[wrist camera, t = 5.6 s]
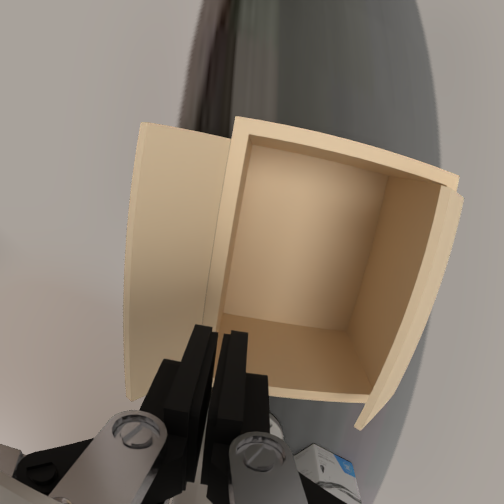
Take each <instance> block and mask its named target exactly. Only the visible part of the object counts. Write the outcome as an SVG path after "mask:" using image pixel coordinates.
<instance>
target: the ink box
mask: <svg viewBox="0 0 504 504" xmlns="http://www.w3.org/2000/svg"><path fill="white" fill-rule="evenodd" d="M293 457H294V460H295V463H296V467H297V470H298V471H299V472H300V473H301V474H303V475H304V476H306V477H307V478H309V479H310V480H311V481H313V482H314V483H316V484H317V485H319V486H320V487H322V488H323V489H325V490H326V491H328V492H329V493H331V494H333V495H334V496H336V497H337V498H339V499H340V500H342V501H344V502H345V503H347V504H362V502H361V498H360V494H359V490H358V486H357V481H356V477H355V473H354V469H353V466H352V463H351V462H349V461H346V460H344V459H342V458H340V457H339V456H337V455H335V454H333V453H331V452H329V451H327V450H325V449H323V448H321V447H319V446H317V445H316V444H312V445H311V446H309V447H308V448H306V449H304V450H303V451H301V452H300V453H298V454H296V455H295V456H293Z"/></svg>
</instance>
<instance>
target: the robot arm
mask: <svg viewBox="0 0 504 504" xmlns="http://www.w3.org/2000/svg"><path fill="white" fill-rule="evenodd" d="M212 329H213V327H210V326H204V325H198V324H195V326H194V329H193V331H192V334H191V336H190V339H189V341H188V344H187V347H186V349H185V352H184V354H183V357H182V360H181V362H180V361H175V360H170V359H163V361H162V362H161V365H160V367H159V369H158V371H157V373H156V375H155V377H154V380H153V382H152V384H151V386H150V388H149V390H148V392H147V395H146V397H145V399H144V401H143V403H142V406H141V408H140V410H139V411H137V410H129V411H124V412H121V413H118V414H116V415H114V416H113V417H112V418H111V419H110V420H109V421H108V422H107V423H106V425H105V426H104V427H103V428H102V430H101V431H100V432H99V433H98V435H97V436H96V437H95V438H92V439H89V440H85V441H82V442H77V443H73V444H69V445H65V446H61V447H57V448H52V449H47V450H43V451H38V452H34V453H31V454H28V455H24V454H22V452H21V450H18V449H15V448H11V447H9V446H6V445H2V444H0V504H169V500H170V498H172V497H173V500H172V504H347V503H345V502H344V501H342V500H340V499H339V498H337V497H336V496H334V495H333V494H331V493H329V492H328V491H326V490H325V489H323V488H322V487H320V486H319V485H317V484H316V483H314V482H313V481H311V480H310V479H309V478H307V477H306V476H304V475H303V474H301V473H300V472H299V471H298V470H297V467H296V463H295V460H294V457H293V454H292V451H291V449H290V447H289V445H288V444H287V443H286V442H284V441H283V432H282V427H281V426H280V424H279V422H278V421H277V420H276V418H275V417H274V416H273V415H271V414H270V413H269V388H268V376H267V375H261V374H253V373H246V363H247V347H248V332H241V331H234V330H231V334H225V333H224V335H223V340H222V345H221V350H220V355H219V360H218V365H217V370H216V375H215V380H214V385H213V390H212V382H213V374H214V365H215V357H216V349H217V341H218V332H212ZM211 390H212V395H211ZM210 398H211V400H210Z"/></svg>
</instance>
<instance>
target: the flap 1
mask: <svg viewBox="0 0 504 504" xmlns="http://www.w3.org/2000/svg"><path fill="white" fill-rule="evenodd" d="M230 142H231V139H229V138H224V137H220V136H216V135H211V134H206V133H202V132H197V131H192V130H187V129H182V128H177V127H171V126H166V125H160V124H155V123H149V122H141V125H140V130H139V136H138V142H137V149H136V156H135V162H134V169H133V177H132V184H131V193H130V202H129V212H128V223H127V235H126V250H125V269H124V302H123V303H124V305H123V333H124V334H123V337H124V368H125V386H126V397H127V398H128V399H129V400H130V401H131V402H132V401H134V400H137V399H139V398H141V397H143V396H145V395H147V392H148V390H149V388H150V386H151V384H152V382H153V380H154V377H155V375H156V373H157V371H158V369H159V367H160V365H161V362H162V361H163V359H170V360H175V361H180V362H181V360H182V357H183V354H184V352H185V349H186V347H187V344H188V341H189V339H190V336H191V334H192V331H193V329H194V326H195V324H198V325H202V321H203V313H204V306H205V298H206V291H207V284H208V277H209V270H210V263H211V256H212V250H213V243H214V237H215V230H216V224H217V218H218V211H219V205H220V199H221V193H222V187H223V181H224V176H225V170H226V164H227V159H228V153H229V148H230Z"/></svg>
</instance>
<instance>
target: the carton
mask: <svg viewBox="0 0 504 504" xmlns="http://www.w3.org/2000/svg"><path fill="white" fill-rule="evenodd" d="M458 181H459V176H458V175H456V174H453V173H451V172H448V171H445V170H442V169H440V168H437V167H435V166H432V165H429V164H426V163H423V162H420V161H418V160H415V159H412V158H409V157H406V156H403V155H399V154H396V153H393V152H390V151H387V150H383V149H380V148H377V147H373V146H370V145H366V144H363V143H359V142H355V141H352V140H348V139H344V138H340V137H336V136H332V135H328V134H324V133H320V132H316V131H311V130H307V129H302V128H298V127H293V126H288V125H283V124H278V123H273V122H267V121H262V120H256V119H250V118H244V117H238V116H236V117H235V122H234V128H233V133H232V138H231V144H230V149H229V155H228V160H227V166H226V172H225V177H224V183H223V189H222V195H221V201H220V207H219V213H218V220H217V226H216V232H215V239H214V245H213V252H212V258H211V265H210V272H209V279H208V286H207V293H206V300H205V308H204V315H203V323H202V325H204V326H210V327H213V329H212V332H218V341H217V349H216V357H215V365H214V374H213V382H212V387H213V385H214V380H215V375H216V370H217V365H218V360H219V355H220V350H221V345H222V340H223V335H224V333H225V334H231V330H234V331H241V332H248V347H247V363H246V373H253V374H261V375H267V376H268V388H269V396H276V397H285V398H295V399H305V400H318V401H332V402H352V403H366V402H367V400H368V398H369V396H370V394H371V392H372V390H373V388H374V386H375V384H376V382H377V379H378V377H379V375H380V373H381V371H382V369H383V366H384V364H385V362H386V359H387V357H388V355H389V352H390V350H391V348H392V345H393V343H394V340H395V338H396V336H397V333H398V330H399V328H400V325H401V323H402V320H403V317H404V315H405V312H406V309H407V307H408V304H409V301H410V298H411V295H412V292H413V289H414V286H415V283H416V280H417V277H418V274H419V271H420V267H421V264H422V261H423V257H424V254H425V251H426V247H427V243H428V240H429V236H430V232H431V228H432V224H433V220H434V216H435V212H436V208H437V203H438V199H439V194H440V189H441V185H442V186H445V187H449V188H452V189H453V190H454V191H457V186H458Z"/></svg>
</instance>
